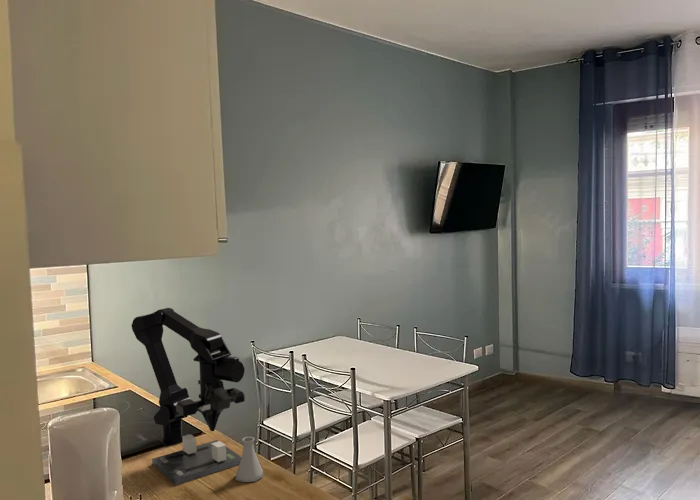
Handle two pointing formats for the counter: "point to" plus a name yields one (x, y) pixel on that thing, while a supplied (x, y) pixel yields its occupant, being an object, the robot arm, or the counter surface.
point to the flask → (249, 463)
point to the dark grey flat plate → (193, 463)
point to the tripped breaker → (189, 444)
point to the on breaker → (218, 451)
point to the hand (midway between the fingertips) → (212, 430)
